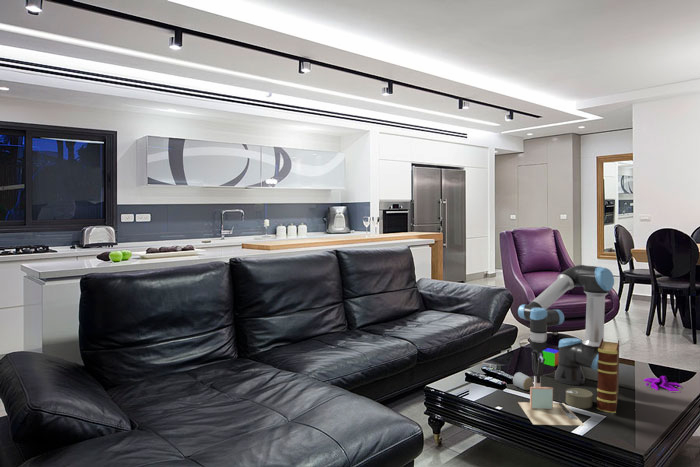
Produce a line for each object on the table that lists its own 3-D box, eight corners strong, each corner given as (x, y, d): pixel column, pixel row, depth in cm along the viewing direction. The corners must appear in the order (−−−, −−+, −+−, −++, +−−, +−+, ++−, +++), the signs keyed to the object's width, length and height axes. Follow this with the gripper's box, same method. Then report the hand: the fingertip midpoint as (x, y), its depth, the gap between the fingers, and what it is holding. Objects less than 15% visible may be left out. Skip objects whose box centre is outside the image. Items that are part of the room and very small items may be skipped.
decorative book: (615, 416, 222) (617, 351, 220) (596, 412, 226) (597, 349, 224) (618, 399, 241) (619, 340, 239) (600, 396, 245) (601, 337, 243)
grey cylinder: (524, 392, 250) (524, 377, 250) (512, 387, 258) (512, 372, 257) (538, 388, 255) (539, 374, 255) (526, 383, 263) (526, 370, 262)
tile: (551, 407, 228) (551, 387, 227) (553, 409, 226) (553, 388, 225) (529, 407, 229) (530, 386, 228) (531, 409, 227) (531, 388, 226)
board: (563, 405, 233) (563, 403, 233) (584, 428, 210) (584, 425, 210) (517, 404, 235) (517, 402, 235) (533, 427, 211) (533, 424, 211)
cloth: (644, 377, 272) (644, 367, 272) (684, 385, 261) (684, 374, 260) (637, 389, 255) (638, 378, 254) (680, 398, 243) (680, 386, 243)
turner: (564, 404, 231) (564, 403, 231) (577, 419, 216) (577, 417, 215) (556, 404, 232) (556, 402, 232) (569, 419, 216) (569, 417, 216)
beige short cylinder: (596, 412, 226) (596, 397, 226) (568, 410, 228) (569, 396, 228) (588, 401, 238) (588, 388, 238) (562, 400, 240) (562, 386, 240)
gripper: (526, 336, 238) (525, 383, 239) (534, 344, 225) (533, 393, 226) (541, 336, 238) (540, 383, 239) (550, 344, 225) (549, 394, 226)
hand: (537, 388), depth 233 cm, fingers closed
